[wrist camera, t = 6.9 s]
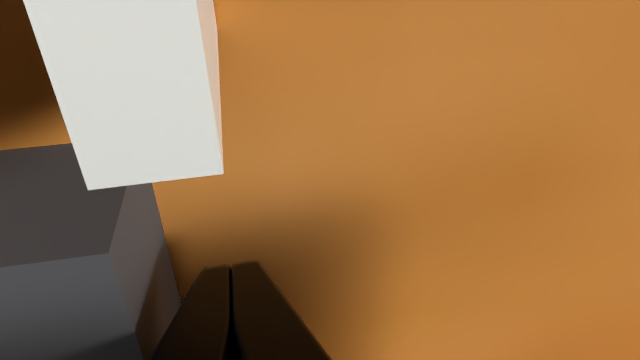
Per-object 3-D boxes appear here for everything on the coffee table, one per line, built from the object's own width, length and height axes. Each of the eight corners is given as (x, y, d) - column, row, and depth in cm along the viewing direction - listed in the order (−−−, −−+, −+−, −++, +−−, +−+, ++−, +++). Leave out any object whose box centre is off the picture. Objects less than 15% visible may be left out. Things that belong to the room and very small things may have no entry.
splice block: (183, 307, 10) (174, 451, 8) (-28, 338, 10) (-114, 504, 7) (141, 132, 8) (108, 253, 5) (-135, 159, 7) (-314, 308, 5)
